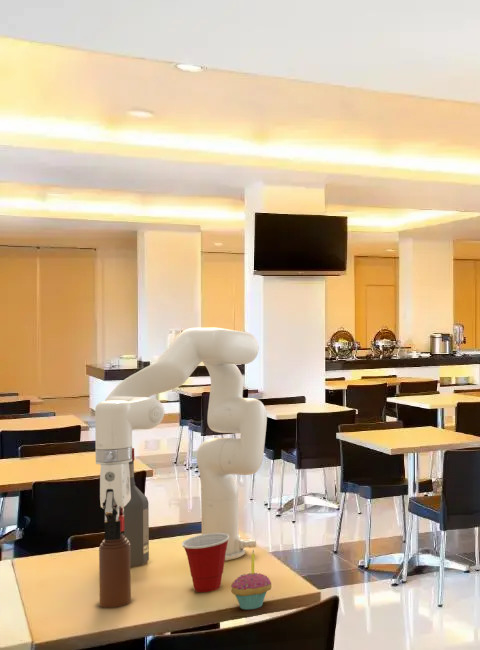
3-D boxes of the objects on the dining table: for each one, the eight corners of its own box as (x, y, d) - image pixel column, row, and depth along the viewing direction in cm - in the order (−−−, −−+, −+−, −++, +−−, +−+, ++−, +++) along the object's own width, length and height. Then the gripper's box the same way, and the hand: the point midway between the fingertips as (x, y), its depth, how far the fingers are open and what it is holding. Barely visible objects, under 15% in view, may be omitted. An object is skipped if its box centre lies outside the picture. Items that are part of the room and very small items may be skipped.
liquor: (113, 571, 221) (112, 452, 221) (104, 563, 228) (103, 448, 229) (151, 564, 227) (150, 449, 227) (140, 556, 234) (139, 445, 234)
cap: (125, 528, 199) (125, 514, 199) (122, 532, 195) (122, 518, 195) (106, 529, 198) (106, 515, 198) (103, 533, 194) (103, 519, 194)
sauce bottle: (133, 597, 200) (132, 514, 200) (128, 606, 194) (127, 520, 194) (102, 599, 199) (102, 516, 199) (96, 608, 193) (96, 522, 193)
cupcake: (236, 600, 197) (236, 547, 197) (274, 599, 198) (274, 546, 198) (227, 613, 189) (226, 558, 189) (267, 612, 189) (266, 556, 189)
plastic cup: (175, 587, 207) (175, 537, 207) (221, 579, 214) (220, 530, 214) (190, 599, 198) (189, 546, 198) (237, 589, 205) (236, 538, 205)
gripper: (125, 460, 189) (125, 545, 189) (138, 449, 206) (138, 527, 206) (87, 462, 188) (88, 547, 188) (103, 450, 204) (104, 529, 204)
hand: (114, 536), depth 197 cm, fingers closed on cap, 3 cm apart
